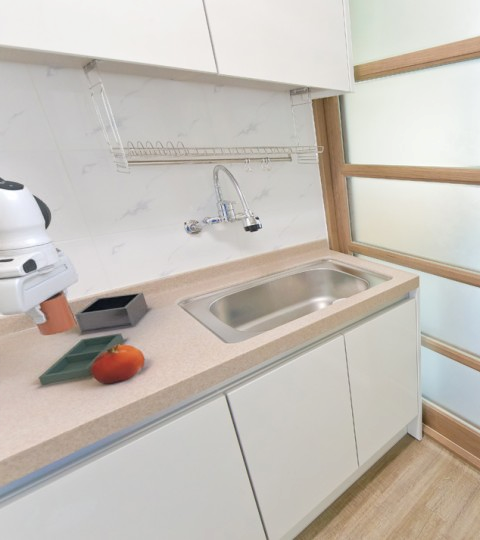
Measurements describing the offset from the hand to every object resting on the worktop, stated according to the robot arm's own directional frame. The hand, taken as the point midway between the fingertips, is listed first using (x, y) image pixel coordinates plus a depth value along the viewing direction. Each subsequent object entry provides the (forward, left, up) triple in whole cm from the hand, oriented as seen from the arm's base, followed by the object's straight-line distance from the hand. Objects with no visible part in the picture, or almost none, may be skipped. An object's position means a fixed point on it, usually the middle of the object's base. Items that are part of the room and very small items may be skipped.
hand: (53, 314), depth 76 cm
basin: (-3, +28, -16) cm, 32 cm away
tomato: (+12, -7, -16) cm, 21 cm away
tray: (0, +4, -16) cm, 16 cm away
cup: (0, 0, -4) cm, 4 cm away
